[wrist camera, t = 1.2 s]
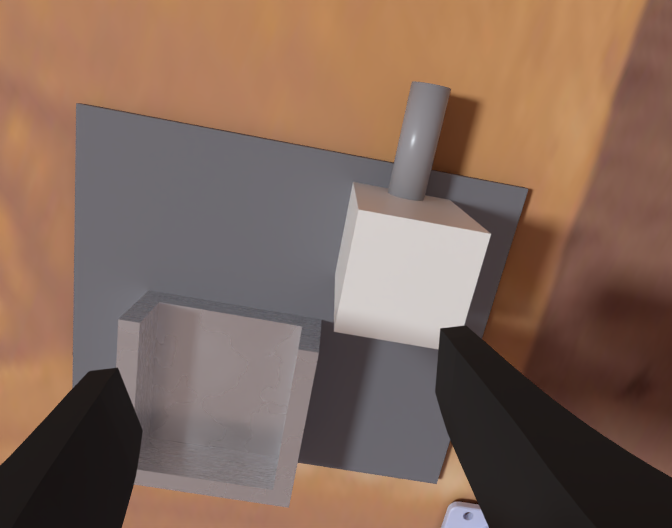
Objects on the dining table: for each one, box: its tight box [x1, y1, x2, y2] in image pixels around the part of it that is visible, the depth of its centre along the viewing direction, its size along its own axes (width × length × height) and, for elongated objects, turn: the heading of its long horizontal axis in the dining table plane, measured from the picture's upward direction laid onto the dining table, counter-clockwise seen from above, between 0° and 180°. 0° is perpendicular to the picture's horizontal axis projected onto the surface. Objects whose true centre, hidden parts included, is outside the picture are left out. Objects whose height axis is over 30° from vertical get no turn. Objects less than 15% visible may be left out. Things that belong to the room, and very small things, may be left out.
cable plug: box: [334, 82, 491, 349], centre depth 17 cm, size 4×8×6 cm, turn 170°
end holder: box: [116, 290, 322, 507], centre depth 21 cm, size 8×8×3 cm
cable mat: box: [73, 103, 528, 484], centre depth 21 cm, size 18×15×1 cm
